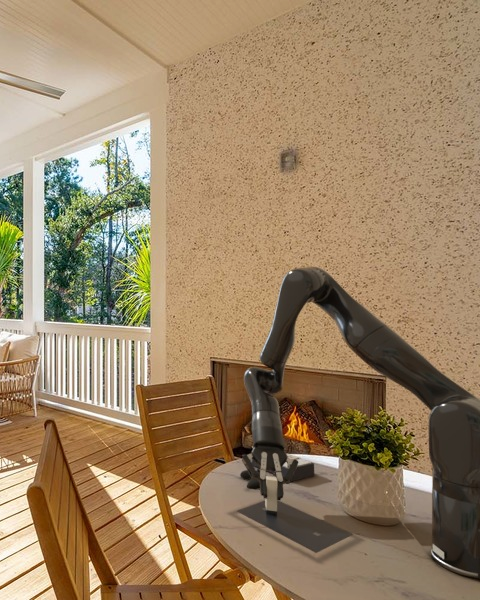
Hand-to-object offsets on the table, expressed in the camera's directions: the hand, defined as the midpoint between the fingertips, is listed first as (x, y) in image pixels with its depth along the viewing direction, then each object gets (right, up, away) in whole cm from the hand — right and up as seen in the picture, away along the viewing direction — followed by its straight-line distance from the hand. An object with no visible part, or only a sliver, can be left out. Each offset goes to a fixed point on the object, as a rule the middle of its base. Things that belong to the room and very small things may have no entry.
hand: (272, 497), depth 103 cm
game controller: (+4, -6, +20) cm, 21 cm away
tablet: (+3, -5, -3) cm, 7 cm away
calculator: (+16, -6, +30) cm, 35 cm away
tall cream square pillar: (+1, -4, +2) cm, 5 cm away
